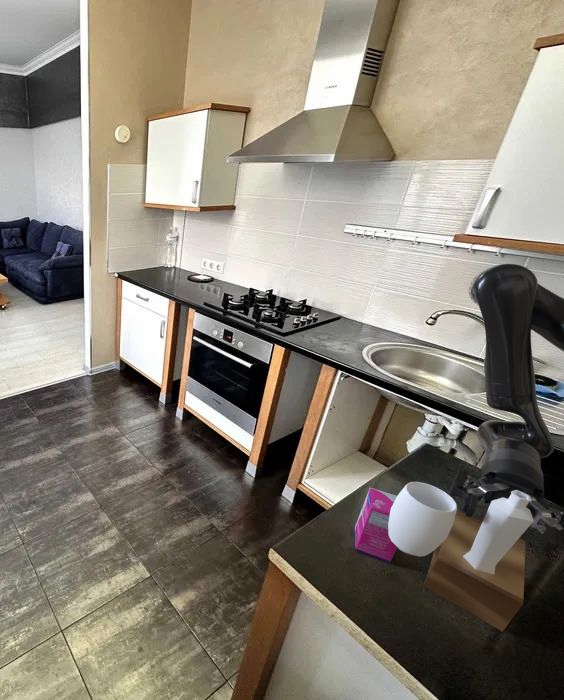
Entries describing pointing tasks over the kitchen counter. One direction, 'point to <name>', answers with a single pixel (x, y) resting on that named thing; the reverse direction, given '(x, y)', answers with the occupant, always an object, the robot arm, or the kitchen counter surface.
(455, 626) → the kitchen counter surface
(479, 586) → the wood grain block
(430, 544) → the cup
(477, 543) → the perfume bottle
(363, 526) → the supplement box
